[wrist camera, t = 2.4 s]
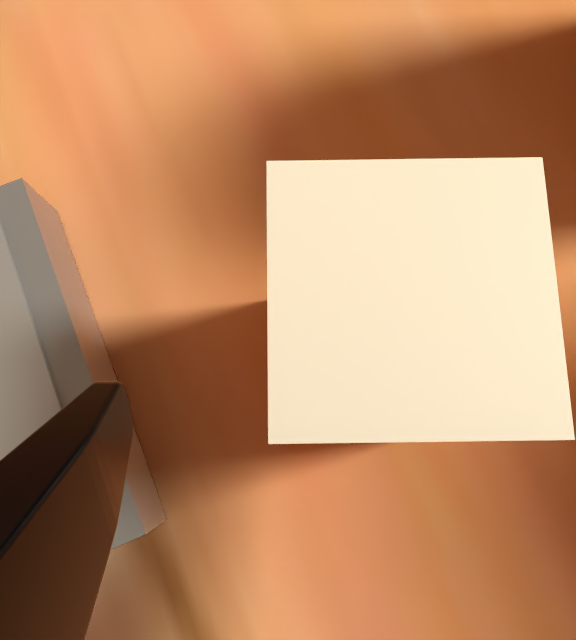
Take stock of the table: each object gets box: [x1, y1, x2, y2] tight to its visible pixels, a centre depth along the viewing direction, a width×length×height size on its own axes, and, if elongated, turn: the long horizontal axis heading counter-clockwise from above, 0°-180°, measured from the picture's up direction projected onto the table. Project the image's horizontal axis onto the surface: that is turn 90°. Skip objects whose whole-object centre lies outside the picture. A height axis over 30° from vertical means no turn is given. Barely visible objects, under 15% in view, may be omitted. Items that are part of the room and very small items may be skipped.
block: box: [266, 157, 575, 444], centre depth 13 cm, size 4×4×10 cm
